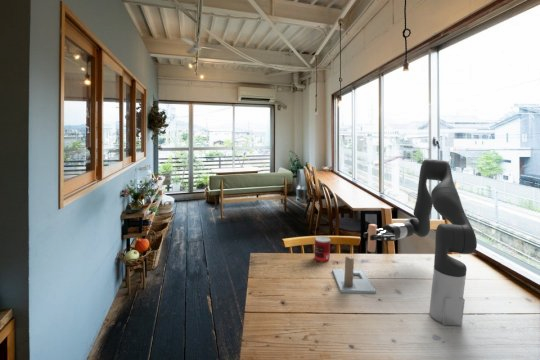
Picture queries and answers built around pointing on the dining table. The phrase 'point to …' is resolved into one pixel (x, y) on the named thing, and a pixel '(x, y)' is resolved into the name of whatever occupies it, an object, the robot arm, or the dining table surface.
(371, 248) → the wooden peg
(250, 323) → the dining table surface
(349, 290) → the board
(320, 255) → the canned food
